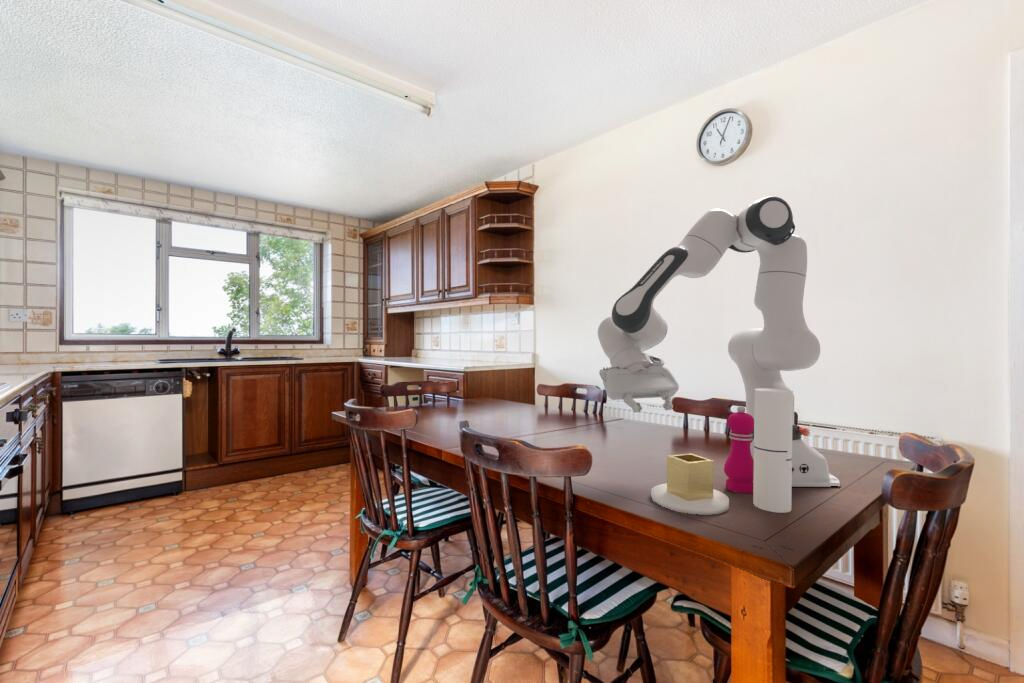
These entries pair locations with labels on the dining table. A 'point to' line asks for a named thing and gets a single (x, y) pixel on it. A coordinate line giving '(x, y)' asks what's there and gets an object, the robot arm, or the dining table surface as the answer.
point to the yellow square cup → (690, 476)
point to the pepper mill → (740, 453)
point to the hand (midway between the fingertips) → (654, 409)
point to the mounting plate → (690, 502)
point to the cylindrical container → (773, 449)
